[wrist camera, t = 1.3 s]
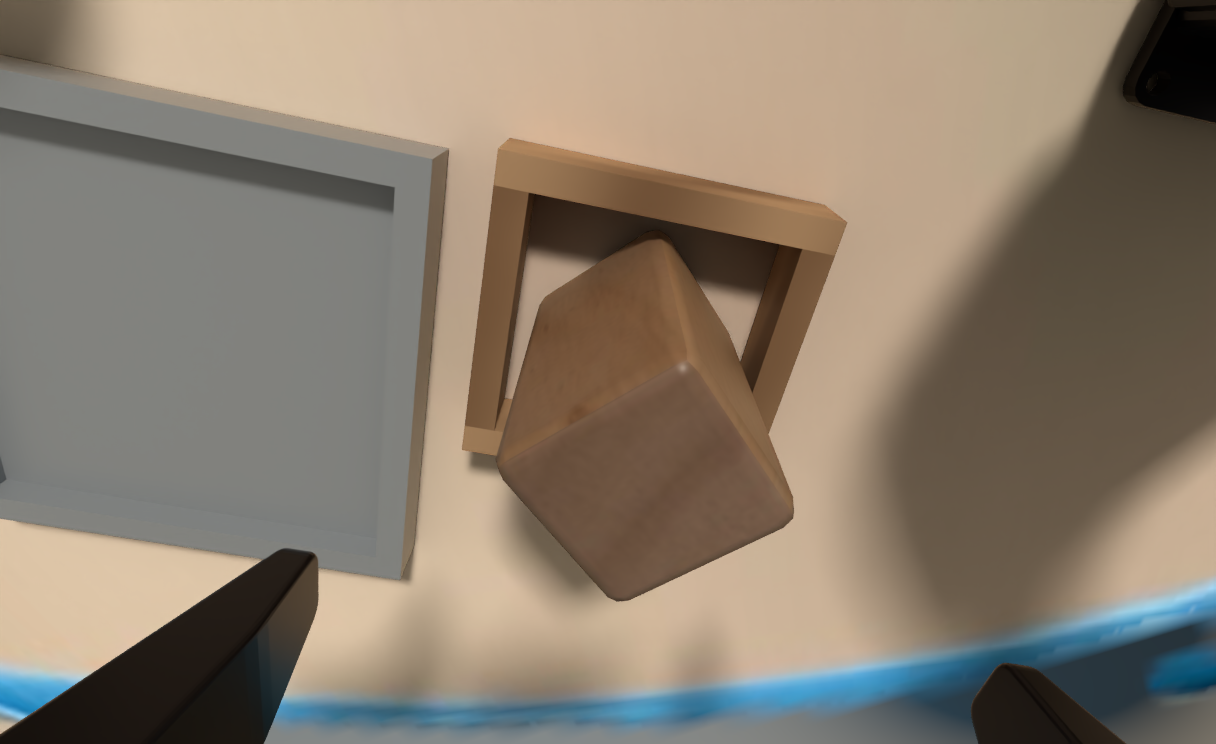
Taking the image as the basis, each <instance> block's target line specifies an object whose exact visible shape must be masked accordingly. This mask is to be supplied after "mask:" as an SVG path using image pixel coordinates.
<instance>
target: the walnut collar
mask: <svg viewBox="0 0 1216 744" xmlns="http://www.w3.org/2000/svg"><path fill="white" fill-rule="evenodd" d="M535 194H539V195H543V196H548V197H553V198H558V199H563V200H568V201H573V202H577V203H582V204H587V205H592V206H597V207H602V208H606V209H611V210H616V211H621V212H626V213H631V214H636V215H640V216H645V217H650V218H655V219H660V220H665V221H669V222H674V223H679V224H684V225H689V226H694V227H699V228H703V229H708V230H713V231H718V232H723V233H728V234H732V235H737V236H742V237H747V238H752V239H757V240H762V241H766V242H771V243H776V244H780V245H779V248H778V251H777V254H776V257H775V260H774V263H773V266H772V269H771V272H770V275H769V278H768V281H767V284H766V287H765V290H764V293H763V296H762V299H761V302H760V305H759V309H758V312H757V315H756V318H755V321H754V324H753V327H752V330H751V333H750V336H749V339H748V342H747V345H746V348H745V351H744V354H743V357H742V360H741V366H742V368H743V371H744V374H745V376H746V379H747V381H748V384H749V386H750V389H751V391H752V394H753V397H754V399H755V402H756V404H757V407H758V409H759V412H760V414H761V417H762V420H763V422H764V425H765V427H766V430H767V432H768V434H769V431H770V428H771V426H772V423H773V420H774V418H775V415H776V412H777V410H778V407H779V404H780V402H781V399H782V396H783V394H784V391H785V388H786V385H787V383H788V380H789V377H790V375H791V372H792V369H793V367H794V364H795V361H796V359H797V356H798V353H799V351H800V348H801V345H802V343H803V340H804V337H805V335H806V332H807V329H808V327H809V324H810V321H811V318H812V316H813V313H814V310H815V308H816V305H817V302H818V300H819V297H820V294H821V292H822V289H823V286H824V284H825V281H826V278H827V276H828V273H829V270H830V268H831V265H832V262H833V260H834V257H835V254H836V252H837V249H838V246H839V243H840V241H841V238H842V235H843V233H844V230H845V227H846V225H847V222H846V221H845V220H843V219H842V218H841V217H839V216H838V215H837V214H836V213H834V212H833V211H832V210H830V209H829V208H828V207H827V206H825V205H822V204H817V203H813V202H808V201H803V200H798V199H794V198H789V197H784V196H780V195H775V194H770V193H766V192H761V191H756V190H752V189H747V188H742V187H737V186H733V185H728V184H723V183H719V182H714V181H709V180H705V179H700V178H695V177H690V176H686V175H681V174H676V173H672V172H667V171H662V170H658V169H653V168H648V167H643V166H639V165H634V164H629V163H625V162H620V161H615V160H611V159H606V158H601V157H596V156H592V155H587V154H582V153H578V152H573V151H568V150H564V149H559V148H554V147H549V146H545V145H540V144H535V143H531V142H526V141H521V140H517V139H512V138H509V139H508V140H507V141H506V142H505V143H504V144H503V145H502V146H501V147H500V148H499V149H498V154H497V162H496V171H495V179H494V187H493V196H492V204H491V212H490V221H489V229H488V237H487V245H486V254H485V262H484V270H483V279H482V287H481V295H480V304H479V312H478V320H477V329H476V337H475V345H474V354H473V362H472V370H471V379H470V387H469V395H468V404H467V412H466V420H465V429H464V437H463V445H462V450H465V451H471V452H477V453H483V454H489V455H495V456H497V452H498V449H499V445H500V442H501V438H502V435H503V431H504V428H505V424H506V421H507V417H508V414H509V410H510V407H511V403H512V400H511V399H505V398H504V397H505V391H506V384H507V377H508V370H509V364H510V357H511V350H512V344H513V337H514V330H515V324H516V317H517V310H518V303H519V297H520V290H521V283H522V277H523V270H524V263H525V257H526V250H527V243H528V236H529V230H530V223H531V216H532V210H533V203H534V196H535Z"/></svg>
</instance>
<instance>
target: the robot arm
mask: <svg viewBox="0 0 1216 744" xmlns="http://www.w3.org/2000/svg"><path fill="white" fill-rule="evenodd" d="M1155 73H1156V74H1157V77H1158V79H1157V82H1156V85H1155V86H1154V87H1153V89H1152V90H1151V91H1149V92H1147V88H1146V86H1147V83H1148V80H1149V79H1150V78H1151V76H1152V75H1153V74H1155ZM1123 96H1124V97H1125V99H1126V101H1127V102H1129V103H1131V104H1133V105H1136V106H1140V107H1144V108H1148V109H1153V110H1157V111H1161V112H1165V113H1170V114H1174V115H1178V116H1182V117H1187V118H1191V119H1195V120H1199V121H1204V122H1208V123H1212V124H1216V0H1166V1H1165V3H1164V5H1163V7H1162V8H1161V10H1160V12H1159V14H1158V16H1157V18H1156V20H1155V22H1154V24H1153V26H1152V28H1151V30H1150V32H1149V34H1148V36H1147V38H1146V39H1145V41H1144V43H1143V45H1142V47H1141V49H1140V51H1139V53H1138V55H1137V57H1136V59H1135V61H1134V63H1133V65H1132V67H1131V68H1130V70H1129V72H1128V74H1127V76H1126V79H1125V81H1124V84H1123ZM317 606H318V558H317V555H316V554H315V553H313V552H310V551H304V550H297V549H291V548H283V549H280V550H278V551H276V552H274V553H273V554H271V555H270V556H268V557H267V558H265V559H264V560H262V561H261V562H259V563H258V564H256V565H255V566H253V567H252V568H250V569H249V570H247V571H246V572H244V573H243V574H241V575H240V576H238V577H237V578H235V579H234V580H232V581H230V582H229V583H227V584H226V585H224V586H223V587H221V588H220V589H218V590H217V591H215V592H214V593H212V594H211V595H209V596H208V597H206V598H205V599H203V600H202V601H200V602H199V603H197V604H196V605H194V606H193V607H191V608H190V609H188V610H187V611H185V612H184V613H182V614H181V615H179V616H178V617H176V618H175V619H173V620H172V621H170V622H169V623H167V624H166V625H164V626H163V627H161V628H160V629H158V630H157V631H155V632H154V633H152V634H151V635H149V636H148V637H146V638H145V639H143V640H142V641H140V642H138V643H137V644H135V645H134V646H132V647H131V648H129V649H128V650H126V651H125V652H123V653H122V654H120V655H119V656H117V657H116V658H114V659H113V660H111V661H110V662H108V663H107V664H105V665H104V666H102V667H101V668H99V669H98V670H96V671H95V672H93V673H92V674H90V675H89V676H87V677H86V678H84V679H83V680H81V681H80V682H78V683H77V684H75V685H74V686H72V687H71V688H69V689H68V690H66V691H65V692H63V693H62V694H60V695H59V696H57V697H56V698H54V699H53V700H51V701H50V702H48V703H46V704H45V705H43V706H42V707H40V708H39V709H37V710H36V711H34V712H33V713H31V714H30V715H28V716H27V717H25V718H24V719H22V720H21V721H19V722H18V723H16V724H15V725H13V726H12V727H10V728H9V729H7V730H6V731H4V732H3V733H1V734H0V744H264V742H265V740H266V737H267V735H268V732H269V730H270V728H271V725H272V723H273V720H274V718H275V715H276V713H277V710H278V708H279V705H280V703H281V700H282V698H283V695H284V693H285V690H286V688H287V685H288V683H289V680H290V678H291V675H292V673H293V670H294V668H295V665H296V663H297V660H298V658H299V655H300V653H301V650H302V648H303V645H304V643H305V640H306V638H307V635H308V633H309V630H310V628H311V625H312V623H313V620H314V617H315V614H316V611H317ZM971 718H972V723H973V726H974V729H975V733H976V737H977V740H978V744H1126V743H1125V742H1124V741H1122V740H1121V739H1120V738H1119V737H1118V736H1117V735H1115V734H1114V733H1113V732H1112V731H1110V730H1109V729H1108V728H1107V727H1106V726H1105V725H1103V724H1102V723H1101V722H1100V721H1099V720H1097V719H1096V718H1095V717H1093V715H1091V714H1090V713H1089V712H1088V711H1087V710H1085V709H1084V708H1083V707H1082V706H1080V705H1079V704H1078V703H1077V702H1076V701H1075V700H1073V699H1072V698H1071V697H1070V696H1068V695H1067V694H1066V693H1065V692H1064V691H1062V690H1061V689H1060V688H1059V687H1058V686H1057V685H1055V684H1054V683H1053V682H1052V681H1051V680H1049V679H1048V678H1047V677H1046V676H1044V675H1043V674H1042V673H1041V672H1040V671H1038V670H1037V669H1035V668H1032V667H1029V666H1023V665H1017V664H1011V663H1002V664H1000V665H998V666H997V667H996V668H995V669H994V671H993V672H992V674H991V675H990V676H989V678H988V679H987V681H986V682H985V683H984V685H983V686H982V688H981V689H980V691H979V692H978V693H977V695H976V697H975V698H974V700H973V702H972V706H971Z"/></svg>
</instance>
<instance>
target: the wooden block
mask: <svg viewBox="0 0 1216 744" xmlns="http://www.w3.org/2000/svg"><path fill="white" fill-rule="evenodd" d="M496 462H497V466H498V469H499V471H500V474H501V476H502V478H503V480H504V481H505V483H506V484H507V485H508V486H509V487H510V488H511V489H512V490H513V492H514V493H515V494H516V495H517V496H518V497H519V498H520V499H521V501H522V502H523V503H524V504H525V505H526V506H527V507H528V508H529V509H530V511H531V512H532V513H533V514H534V515H535V516H536V517H537V518H538V520H539V521H540V522H541V523H542V524H543V525H544V526H545V527H546V528H547V530H548V531H549V532H550V533H551V534H552V535H553V536H554V537H555V539H556V540H557V541H558V542H559V543H560V544H561V545H562V546H563V547H564V549H565V550H566V551H567V552H568V553H569V554H570V555H571V556H572V558H573V559H574V560H575V561H576V562H577V563H578V564H579V565H580V567H581V568H582V569H583V570H584V571H585V572H586V573H587V574H588V575H589V577H590V578H591V579H592V580H593V581H594V582H595V583H596V584H597V586H598V587H599V588H600V589H601V590H602V591H603V592H604V593H605V594H606V596H607V597H609V598H611V599H613V600H615V601H628V600H631V599H633V598H635V597H637V596H639V595H641V594H643V593H646V592H648V591H650V590H652V589H654V588H656V587H658V586H661V585H663V584H665V583H667V582H669V581H671V580H673V579H675V578H678V577H680V576H682V575H684V574H686V573H688V572H690V571H692V570H695V569H697V568H699V567H701V566H703V565H705V564H707V563H709V562H712V561H714V560H716V559H718V558H720V557H722V556H724V555H726V554H729V553H731V552H733V551H735V550H737V549H739V548H741V547H743V546H746V545H748V544H750V543H752V542H754V541H756V540H758V539H760V538H763V537H765V536H767V535H769V534H771V533H773V532H775V531H777V530H780V529H782V528H783V527H785V526H786V525H787V524H788V523H789V522H790V521H791V520H792V519H793V514H794V506H793V496H792V494H791V491H790V488H789V486H788V483H787V481H786V478H785V476H784V473H783V471H782V468H781V465H780V463H779V460H778V458H777V455H776V453H775V450H774V448H773V445H772V442H771V440H770V437H769V435H768V432H767V430H766V427H765V425H764V422H763V420H762V417H761V414H760V412H759V409H758V407H757V404H756V402H755V399H754V397H753V394H752V391H751V389H750V386H749V384H748V381H747V379H746V376H745V374H744V371H743V368H742V366H741V363H740V361H739V358H738V356H737V353H736V351H735V348H734V346H733V343H732V340H731V338H730V335H729V333H728V331H727V330H726V328H725V326H724V325H723V323H722V322H721V320H720V318H719V317H718V315H717V314H716V312H715V310H714V309H713V307H712V306H711V304H710V302H709V301H708V299H707V298H706V296H705V294H704V293H703V291H702V290H701V288H700V286H699V285H698V283H697V282H696V280H695V278H694V277H693V275H692V274H691V272H690V270H689V269H688V267H687V266H686V264H685V262H684V261H683V259H682V258H681V256H680V254H679V253H678V251H677V250H676V248H675V246H674V245H673V243H672V242H671V240H670V238H669V237H668V236H667V235H665V234H664V233H663V232H661V231H660V230H655V231H650V232H646V233H645V234H643V235H641V236H640V237H638V238H637V239H635V240H634V241H632V242H630V243H629V244H627V245H626V246H624V247H623V248H621V249H619V250H618V251H616V252H615V253H613V254H612V255H610V256H609V257H607V258H605V259H604V260H602V261H601V262H599V263H598V264H596V265H594V266H593V267H591V268H590V269H588V270H587V271H585V272H583V273H582V274H580V275H579V276H577V277H576V278H574V279H572V280H571V281H569V282H568V283H566V284H565V285H563V286H562V287H560V288H558V289H557V290H555V291H554V292H552V293H551V294H549V295H547V296H546V297H545V298H544V299H543V301H542V302H541V304H540V305H539V309H538V312H537V316H536V319H535V323H534V326H533V330H532V333H531V337H530V340H529V344H528V347H527V351H526V354H525V358H524V361H523V365H522V368H521V372H520V375H519V379H518V382H517V386H516V389H515V393H514V396H513V400H512V403H511V407H510V410H509V414H508V417H507V421H506V424H505V428H504V431H503V435H502V438H501V442H500V445H499V449H498V452H497V456H496Z"/></svg>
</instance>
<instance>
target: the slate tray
mask: <svg viewBox="0 0 1216 744" xmlns="http://www.w3.org/2000/svg"><path fill="white" fill-rule="evenodd" d="M448 151H449V149H448V148H443V147H438V146H433V145H429V144H424V143H419V142H414V141H410V140H405V139H400V138H395V137H391V136H386V135H381V134H376V133H372V132H367V131H362V130H357V129H352V128H348V127H343V126H338V125H333V124H329V123H324V122H319V121H314V120H310V119H305V118H300V117H295V116H291V115H286V114H281V113H276V112H271V111H267V110H262V109H257V108H252V107H248V106H243V105H238V104H233V103H229V102H224V101H219V100H214V99H210V98H205V97H200V96H195V95H190V94H186V93H181V92H176V91H171V90H167V89H162V88H157V87H152V86H148V85H143V84H138V83H133V82H128V81H124V80H119V79H114V78H109V77H105V76H100V75H95V74H90V73H86V72H81V71H76V70H71V69H67V68H62V67H57V66H52V65H47V64H43V63H38V62H33V61H28V60H24V59H19V58H14V57H9V56H5V55H0V519H6V520H13V521H19V522H26V523H32V524H39V525H45V526H52V527H58V528H65V529H71V530H78V531H84V532H91V533H97V534H104V535H110V536H117V537H123V538H130V539H136V540H143V541H149V542H156V543H162V544H169V545H175V546H182V547H188V548H194V549H201V550H207V551H214V552H220V553H227V554H233V555H240V556H246V557H253V558H259V559H265V558H267V557H268V556H270V555H271V554H273V553H274V552H276V551H278V550H280V549H283V548H291V549H297V550H304V551H310V552H313V553H315V554H316V555H317V558H318V568H324V569H331V570H337V571H344V572H350V573H357V574H363V575H370V576H376V577H382V578H389V579H395V580H401V577H402V575H403V572H404V570H405V567H406V565H407V562H408V559H409V557H410V554H411V552H412V549H413V547H414V542H415V531H416V519H417V508H418V496H419V485H420V473H421V462H422V450H423V439H424V427H425V416H426V404H427V393H428V381H429V370H430V358H431V347H432V335H433V324H434V312H435V301H436V289H437V278H438V266H439V255H440V243H441V232H442V220H443V209H444V197H445V186H446V174H447V163H448Z"/></svg>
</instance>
